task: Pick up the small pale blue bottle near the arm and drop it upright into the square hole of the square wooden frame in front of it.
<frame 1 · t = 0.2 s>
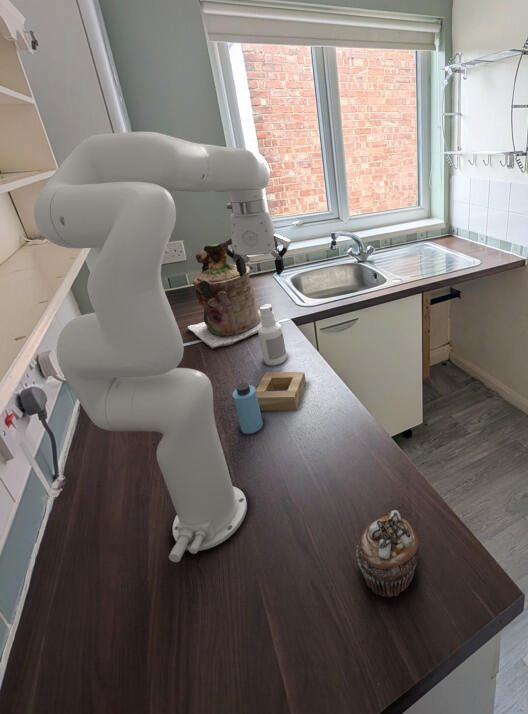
hand: (261, 273, 103), 31 cm above the counter, tool pointing down, fingers open, 9 cm apart
cupcake: (389, 570, 63), on the counter
cookie jar: (234, 327, 145), on the counter
spray bottle: (275, 360, 123), on the counter
square wooden frame: (281, 396, 106), on the counter
bottle: (252, 426, 96), on the counter
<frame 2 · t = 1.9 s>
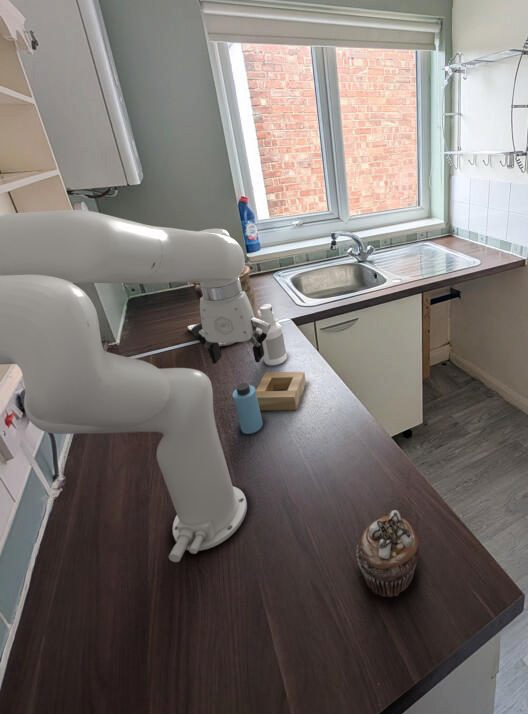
hand: (238, 359, 90), 18 cm above the counter, tool pointing down, fingers open, 9 cm apart
nothing on the counter moved.
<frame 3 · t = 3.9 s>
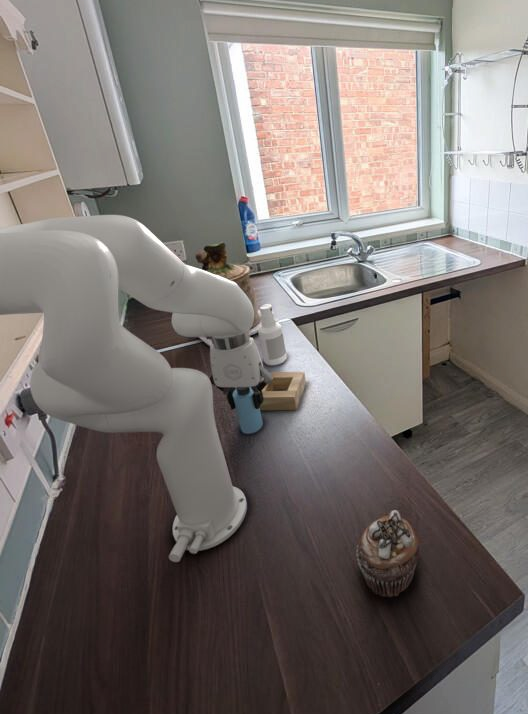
hand: (247, 404, 93), 6 cm above the counter, tool pointing down, fingers closed on bottle, 5 cm apart
bottle: (252, 426, 96), on the counter, touching gripper
everything else where it was.
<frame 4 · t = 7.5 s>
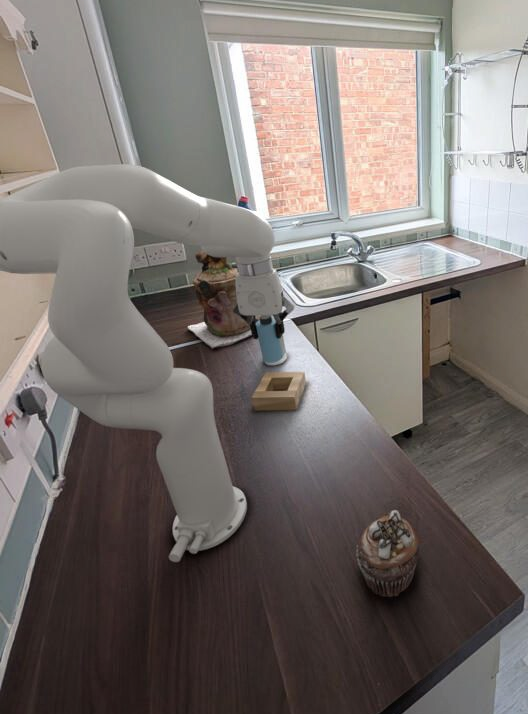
hand: (268, 335, 98), 19 cm above the counter, tool pointing down, fingers closed on bottle, 5 cm apart
bottle: (273, 357, 101), point 12 cm above the counter, touching gripper
everything else where it was.
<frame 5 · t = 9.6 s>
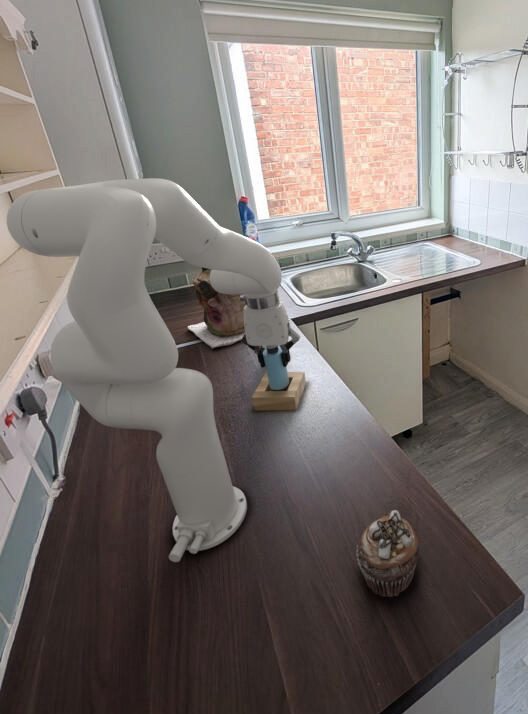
hand: (275, 363, 102), 10 cm above the counter, tool pointing down, fingers closed on bottle, 5 cm apart
bottle: (279, 384, 104), point 4 cm above the counter, touching gripper
everything else where it was.
when the fingers open (6 cm above the counter, at t = 11.1 s): bottle stays where it is, resting in square wooden frame.
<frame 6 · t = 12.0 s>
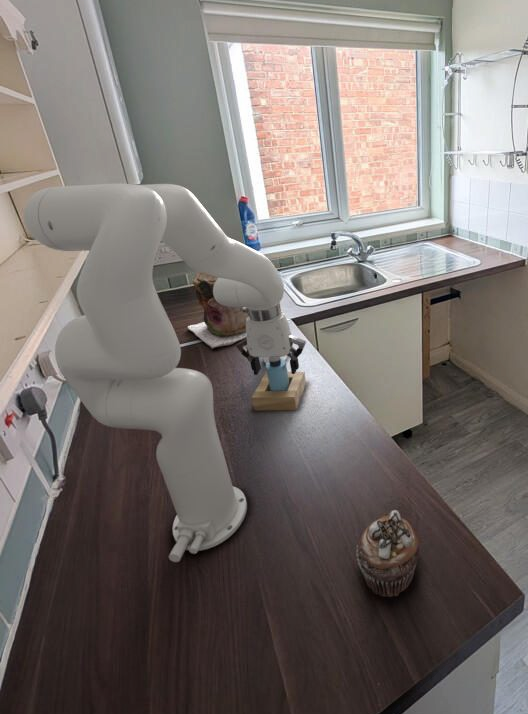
hand: (276, 371, 103), 8 cm above the counter, tool pointing down, fingers open, 9 cm apart
bottle: (281, 395, 106), resting in square wooden frame
everything else where it was.
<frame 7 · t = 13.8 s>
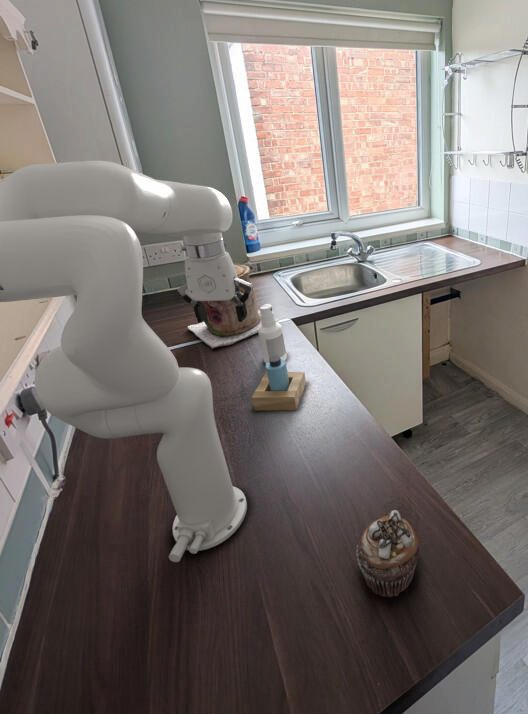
hand: (222, 319, 93), 25 cm above the counter, tool pointing down, fingers open, 9 cm apart
nothing on the counter moved.
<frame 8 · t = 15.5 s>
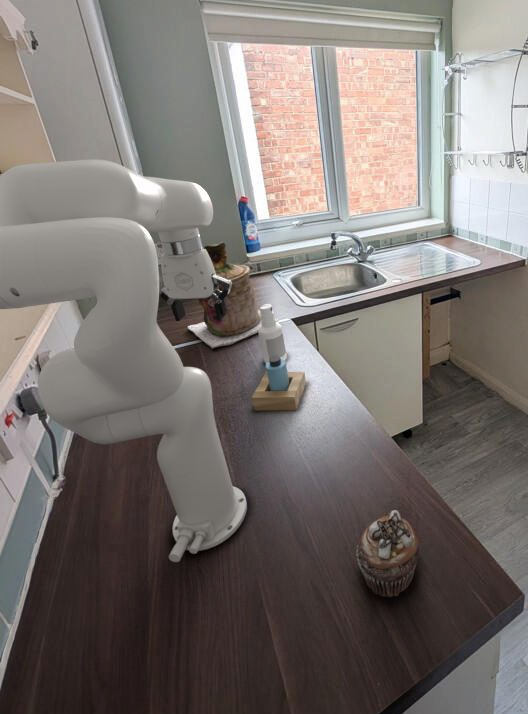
hand: (201, 317, 92), 26 cm above the counter, tool pointing down, fingers open, 9 cm apart
nothing on the counter moved.
at the end: bottle 0.3 cm off-centre in the square wooden frame, point 0.0 cm above the square wooden frame's base; bottle tilted 0°; the gripper is holding nothing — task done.
